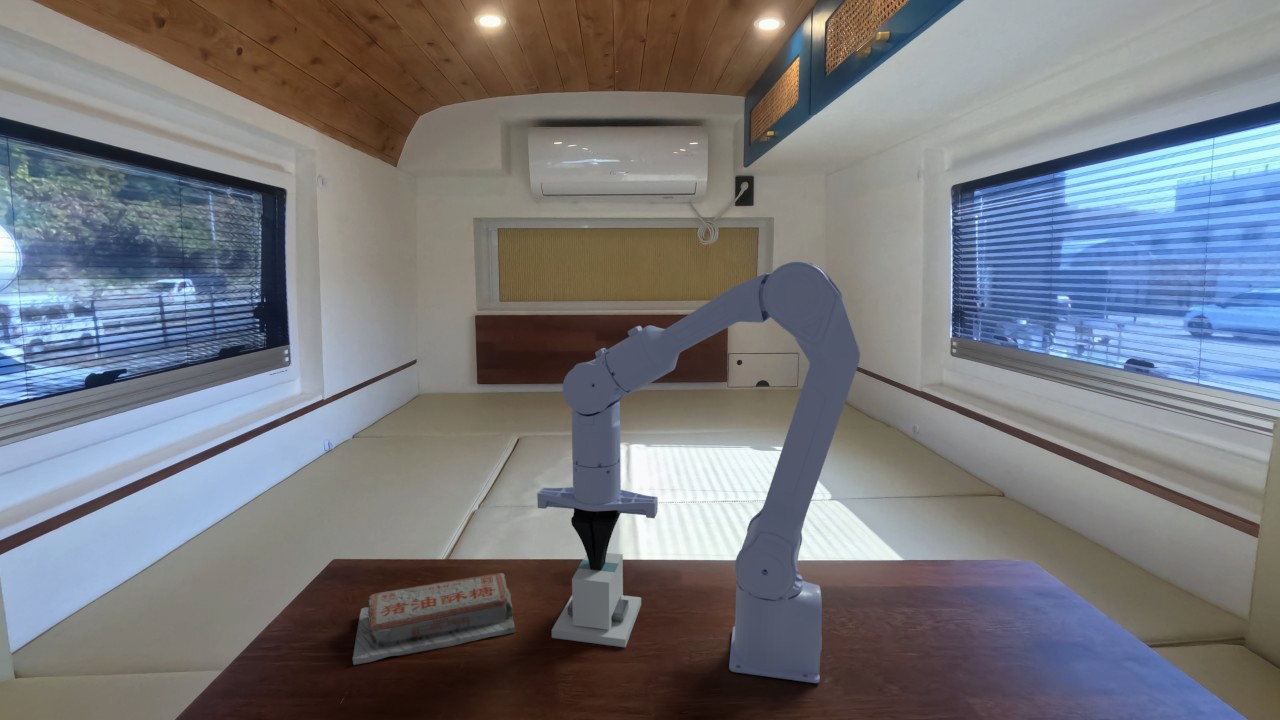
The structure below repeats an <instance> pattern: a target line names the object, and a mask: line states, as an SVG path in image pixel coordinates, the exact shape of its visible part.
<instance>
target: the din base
mask: <svg viewBox="0 0 1280 720" xmlns="http://www.w3.org/2000/svg"><path fill="white" fill-rule="evenodd" d="M571 600H572V595H570V598H569V600H568V601H567V602H566V604H565V606H564V608H563V610H562V611H561V613H560V615H559V616H558V619H557V620H556V621H555V623H554V625H553V627H552V629H551V638H552V639H559V640H566V641H567V640H568V641H575V642H582V643H589V644H590V643H591V644H597V645H604V646H614V647H619V648H626V647H627V645H628V642H629V639H630V636H631V634H632V630H633V628H634V625H635V623H636V619H637V618H638V614H639V612H640V609H641V607H642V597H639V596H631V595H624V594H623V599H622V600H629V608H628V610H627V613H626V615H625V618H624V620H623V621H615V620H611V627H610V630H607V629H599V628H591V627H583V626H575V625H573V615H568V606H569V604H570V602H571Z"/></svg>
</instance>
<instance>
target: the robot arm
mask: <svg viewBox="0 0 1280 720" xmlns="http://www.w3.org/2000/svg"><path fill="white" fill-rule="evenodd" d="M844 300H845V299H844V298H843V294H842V292H841V290H840V289H839V287H838V285H837V284H836V283H835V282H834V281H833V279H832V278H831V277H830V275H829V274H828V273H827V272H826V271H825V270H824V269H823V268H822V267H821V266H819V265H817V264H814V263H811V262H807V261H791V262H787V263H785V264H782V265H780V266H778V267H777V268H776V269H774V270H773V271H772V272H769V273H768V272H767V273H763V274H760V275H757V276H755V277H752V278H751V279H748V280H745V281H743V282H741V283H738V284H736V285H733V286H732V287H730V288H729V289H727V290H726V291H724V292H723V293H721V294H719V295H718V296H716V297H714V298H713V299H712V300H710V301H708V302H707V303H705V304H703V305H702V306H700V307H699V308H697V309H695V310H694V311H692V312H691V313H689V314H687V315H686V316H684V317H682V318H681V319H679V320H678V321H677V322H675V323H672V325H670V326H668V327H666V328H661V327H657V326H654V325H646V326H645V327H642V326H641V325H637V326H634V327H633V328H630V330H628V331H627V334H628V337H626V338H625V339H623V340H622V341H620V342H618V343H616V344H615V345H613V346H611V347H609V348H605V347H603V348H600V349H598V350H597V351H595V353H594V355H595V358H594V359H593V360H589V361H586V362H579V363H577V364H575V365H574V367H573V368H572V369H571V370H569V371H568V373H567V374H566V375H565V376H564V379H563V383H562V394H563V396H564V399H565V402H566V403H567V405H568V406H569V407H570V408H571V451H572V452H571V453H572V454H571V455H572V460H571V461H572V486H571V487H570V486H569V487H568V486H567V487H566V486H565V487H542V488H541V490H539V491H538V492H537V494H536V495H537V496H536V497H537V498H536V499H537V509H547V508H559V509H569V510H573V512H572V513H573V514H572V515H573V516H572V517H571V518H570V522H571V526H572V527H573V529H574V530H575V532H576V533H577V535H578V537H579V539H580V540H581V543H582V545H583V547H584V550H585V553H586V554H585V555H587V557H588V561H589V565H590V569H591V570H598V571H601V570H602V568H603V566H604V564H605V560H606V553H608V548H609V545H610V544H609V543H610V541H611V537H612V534H613V533H614V530H615V526H616V524H617V523H618V520H619V518H620V516H621V514H628V515H640V516H645V518H647V519H656V516H657V514H658V512H659V511H658V505H659V504H658V503H659V502H658V500H659V499H658V496H654V495H647V494H641V493H636V492H632V491H628V490H626V489H625V490H624V489H621V477H622V476H621V421H620V420H621V408H620V407H621V400H622V399H623V398H624V397H625V396H629V395H631V394H632V393H635V392H637V391H638V390H640V389H642V388H643V387H646V386H647V385H650V384H651V383H653V382H655V381H656V380H658V379H660V378H662V377H664V376H665V375H667V374H669V373H671V372H672V371H674V370H675V369H676V367H677V363H678V359H679V356H680V354H681V353H682V352H683V351H685V350H687V349H689V348H691V347H693V346H695V345H697V344H699V343H700V342H702V341H705V340H706V339H708V338H710V337H711V336H714V335H716V334H718V333H719V332H722V331H723V330H726V329H727V328H729V327H731V326H733V325H735V324H736V323H740V322H742V323H756V324H757V323H760V324H761V323H764V322H766V321H767V320H769V319H770V318H771V319H772V320H773V321H774V322H775V323H776V324H778V325H779V326H780V327H781V328H782V329H784V330H785V331H786V332H788V333H789V334H790V335H791V336H793V338H795V342H796V343H797V344H798V346H799V348H800V349H801V350H802V352H803V354H804V355H805V357H806V359H807V360H808V362H809V366H808V370H807V373H806V375H805V379H804V381H803V385H802V388H801V390H800V394H799V396H798V400H797V403H796V406H795V409H794V411H793V416H792V418H791V422H790V424H789V428H788V429H787V430H788V431H787V433H786V436H785V440H784V443H783V445H782V448H781V452H780V453H779V454H780V455H779V458H778V461H777V464H776V466H775V470H774V472H773V476H772V479H771V482H770V486H769V488H768V491H767V494H766V497H765V501H764V504H763V506H762V508H761V509H760V510H759V512H757V514H755V515H754V516H753V517H752V518H751V519H750V521H749V523H748V526H747V530H746V531H747V532H746V535H745V539H744V541H743V544H742V546H741V549H740V550H739V551H738V553H737V556H736V559H735V563H734V568H735V569H734V570H735V575H736V581H735V582H736V585H735V618H734V619H735V622H734V623H735V625H734V626H732V633H731V641H730V642H731V643H730V655H729V665H728V668H729V670H730V671H731V672H732V673H739V674H744V675H745V674H746V675H751V676H752V675H755V676H761V677H768V678H776V679H783V680H789V681H790V680H792V681H797V682H805V683H810V684H811V683H812V684H818V683H820V667H821V652H822V650H823V649H822V647H823V646H822V645H823V639H822V638H823V637H822V627H823V605H822V602H823V601H822V591H821V587H820V585H818V584H815V583H811V582H807V581H805V580H803V576H802V575H801V574H800V571H799V569H798V560H799V554H800V549H801V548H802V547H801V546H802V544H803V533H802V531H803V527H804V524H805V520H806V516H807V513H808V510H809V507H810V505H811V502H812V498H813V496H814V493H815V490H816V487H817V484H818V483H819V479H820V476H821V473H822V470H823V467H824V465H825V461H826V458H827V456H828V454H829V453H828V452H829V450H830V447H831V444H832V441H833V439H834V435H835V434H836V433H835V432H836V430H837V427H838V424H839V421H840V418H841V415H842V412H843V409H844V406H845V403H846V400H847V398H848V395H849V392H850V390H851V387H852V384H853V381H854V378H855V375H856V373H857V370H858V366H859V363H860V358H861V357H860V356H861V354H860V353H861V352H860V347H859V344H858V340H857V337H856V335H855V331H854V328H853V325H852V323H851V319H850V316H849V313H848V309H847V307H846V304H845V301H844Z"/></svg>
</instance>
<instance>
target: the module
mask: <svg viewBox="0 0 1280 720" xmlns="http://www.w3.org/2000/svg"><path fill="white" fill-rule="evenodd" d="M623 559H624V556H623V554H622V553H613V552H607V553H606V560H605V564H604V566H603V568H602V570H601V571H598V570H591V569H590V565H589V561H588V557H587V554H585V557H584V558H583V559H582V560H581V562H580V564H578V565H579V566H578V567H577V570H576V571H575V573H574V575H573V576H572V577H571V589H572V590H571V591H572V595H571V596H572V604H573V625H575V626H583V627H591V628H599V629H607V630H610V627H611V617H612V615H613V612H614V610H615V608H616V605H617V603H618V601H619V599H623V595H624V577H623V575H624V572H623V569H624V568H623V566H624V565H623V562H624V560H623Z"/></svg>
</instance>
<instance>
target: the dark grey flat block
mask: <svg viewBox="0 0 1280 720" xmlns="http://www.w3.org/2000/svg"><path fill="white" fill-rule="evenodd" d="M628 608H629V600H622V599H619V601H618V603H617V605H616V608H615V610H614V612H613V615H612V617H611V620H615V621H623V620H624V618H625V615H626V613H627V610H628ZM568 615H573V604H572V600H571V602H570V604H569V606H568Z"/></svg>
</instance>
